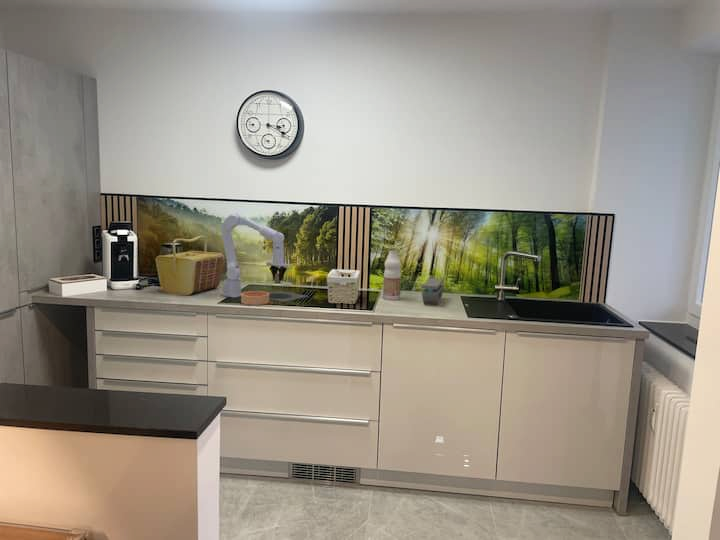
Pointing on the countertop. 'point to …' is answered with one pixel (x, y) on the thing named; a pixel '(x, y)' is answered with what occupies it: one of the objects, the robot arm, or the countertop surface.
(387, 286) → the fruit juice
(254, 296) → the bowl
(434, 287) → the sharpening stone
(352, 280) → the storage basket
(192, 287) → the picnic basket
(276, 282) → the lid
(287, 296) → the rubber mat
